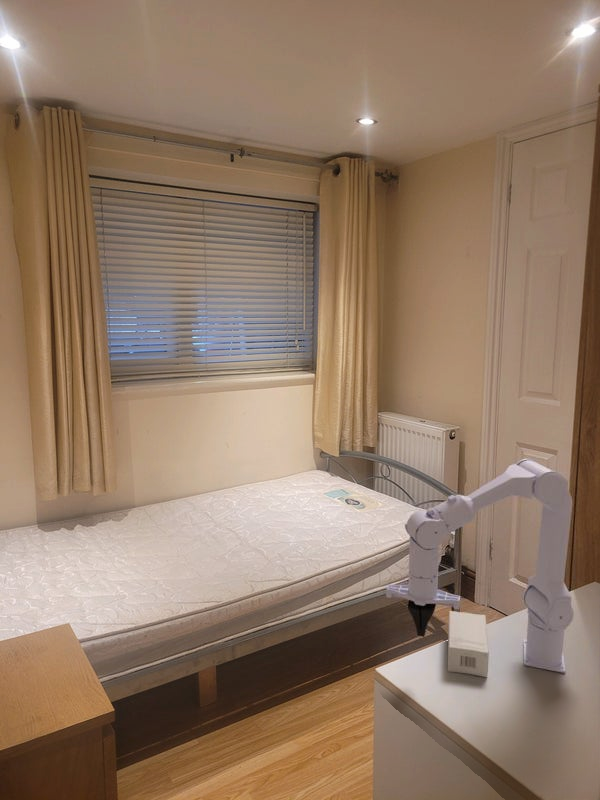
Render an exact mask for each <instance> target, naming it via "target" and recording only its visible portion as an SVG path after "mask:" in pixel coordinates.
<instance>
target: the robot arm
mask: <svg viewBox="0 0 600 800" xmlns="http://www.w3.org/2000/svg"><path fill="white" fill-rule="evenodd" d="M568 487H569V480H568V479H567V478H565V477H564V476H563V475H562V474H561V473H559V472H557V471H556V470H552V469H550V468H548V467H546V466H544V465H542V464H540V463H538V462H537V461H535V460H534V459H531V458H523V459H520V460H519V461H517V462H516V463H513V464H511V465H509V466H508V467H507V469H506V470H505V472H503V473H502V474H500V475H499V476H497V477H495V478H494V479H492V480H490V481H489V482H487V483H486V484H484V485H483V486H481V487H479V488H478V489H476V490H474V491H473V492H471V493H469V494H468V495H463V494H456V495H454V494H451V495H449V496H447V500H445V501H443V502H441V503H439V504H437V505H435V506H433V507H429V508H427V509H426V511H425V510H423V511H416V512H414V513H412V514H411V515H410V517H409V518H408V519H407V522H406V523H405V524H404V529H405V531H406V533H407V534H408V535H409V548H408V549H409V550H408V551H409V553H408V584H389V583H388V584H387V586H386V591H385V598H388V599H391V598H397V599H398V598H399V599H403V600H404V599H405V600H408V602H407V603H408V604H407V610H408V611H409V613H410V615H411V618H412V619H413V622H414V624H415V628H416V634H417V636H418V637H423V638H425V635H426V632H427V631H426V630H427V626H428V624H429V621H430V620H431V618H432V616H433V614H434V613H435V610H436V606H437V605H439V606H445V607H446V606H447V607H452V608H453V609H455V610H460V607H461V606H460V605H461V595H456V594H452V593H450V592H447V591H444V590H441V589H438V583H439V581H438V578H439V551H440V550H439V547H440V546H441V545H442V544H443V542H444V540H445V538H446V537H447V536H449V534H451V533H452V532H454V531H455V530H458V529H460V528H461V527H463V526H465V525H467V524H469V523H471V522H472V521H474V519H475V516H476V513H477V512H478V511H481V510H483V509H485V508H488V507H489V506H491V505H493V504H496V503H498V502H500V501H502V500H505V499H506V498H509V497H511V496H516V497H520V498H525V499H530V500H531V499H533V497H534V498H535V499H536V500H537V501H538V502H539V503H540V504H541V505H542V510H541V520H540V528H539V529H540V531H539V538H538V549H537V560H536V568H535V569H536V570H535V574H534V575H531V576H530V577H528V580H527V586H526V588H525V589H524V590H523V593H522V602H523V604H524V605H525V606H526V607H527V615H528V618H527V629H526V632H527V633H526V638H524V639H523V640H522V641H523V664H524V666H527V667H533V668H538V669H541V670H543V669H544V670H546V671H547V670H548V671H552V672H557V673H566V666H565V657H564V651H563V650H564V640H565V638H564V637H565V630H567V628H568V627H569V626H570V625H571V623H572V621H573V619H574V616H575V615H574V609H573V607H572V596H571V594H570V593H571V592H569V589H568V587H567V586H566V584H565V573H566V567H567V566H566V565H567V564H566V563H567V554H568V549H569V539H570V528H571V521H572V512H573V502H574V501H573V498H572V495H571V493H570V489H569V488H568Z"/></svg>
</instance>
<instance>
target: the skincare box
mask: <svg viewBox="0 0 600 800" xmlns="http://www.w3.org/2000/svg"><path fill="white" fill-rule="evenodd" d="M448 614H449V615H448V630H447V631H448V638H447V639H448V642H447V645H448V647H447V650H448V651H447V655H448V658H447V670H448V672H450V673H459V674H467V675H473V676H477V677H478V676H480V677H482V678H488V675H489V673H488V672H489V661H490V660H489V657H490V656H489V655H490V651H489V649H490V648H489V643H488V642H489V641H488V631H487V630H488V628H487V618H486V617H487V616H486V614H477V613H475V614H474V613H471V612H467V611H465V612H464V611H463V612H461V611H454V610H449V611H448Z"/></svg>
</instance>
